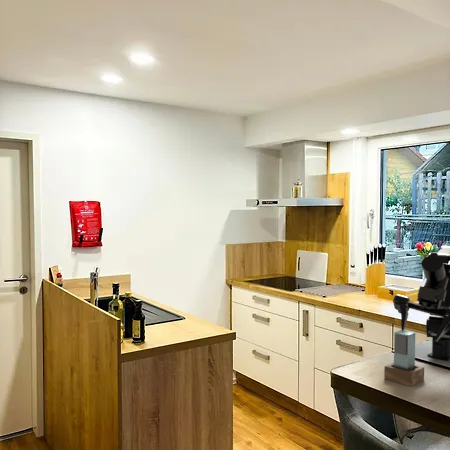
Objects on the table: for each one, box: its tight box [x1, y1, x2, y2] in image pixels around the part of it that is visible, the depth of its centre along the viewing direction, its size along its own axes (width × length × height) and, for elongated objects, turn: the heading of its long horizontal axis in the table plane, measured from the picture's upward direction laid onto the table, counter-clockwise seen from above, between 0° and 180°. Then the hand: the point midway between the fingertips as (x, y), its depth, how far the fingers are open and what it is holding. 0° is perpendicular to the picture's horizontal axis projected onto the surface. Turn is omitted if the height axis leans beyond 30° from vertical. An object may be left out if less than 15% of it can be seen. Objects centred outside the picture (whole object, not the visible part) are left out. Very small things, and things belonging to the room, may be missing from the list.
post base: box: [383, 362, 425, 387], centre depth 128 cm, size 8×8×4 cm
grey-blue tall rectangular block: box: [393, 329, 416, 372], centre depth 128 cm, size 4×4×13 cm
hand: (418, 335), depth 132 cm, fingers open, 9 cm apart
